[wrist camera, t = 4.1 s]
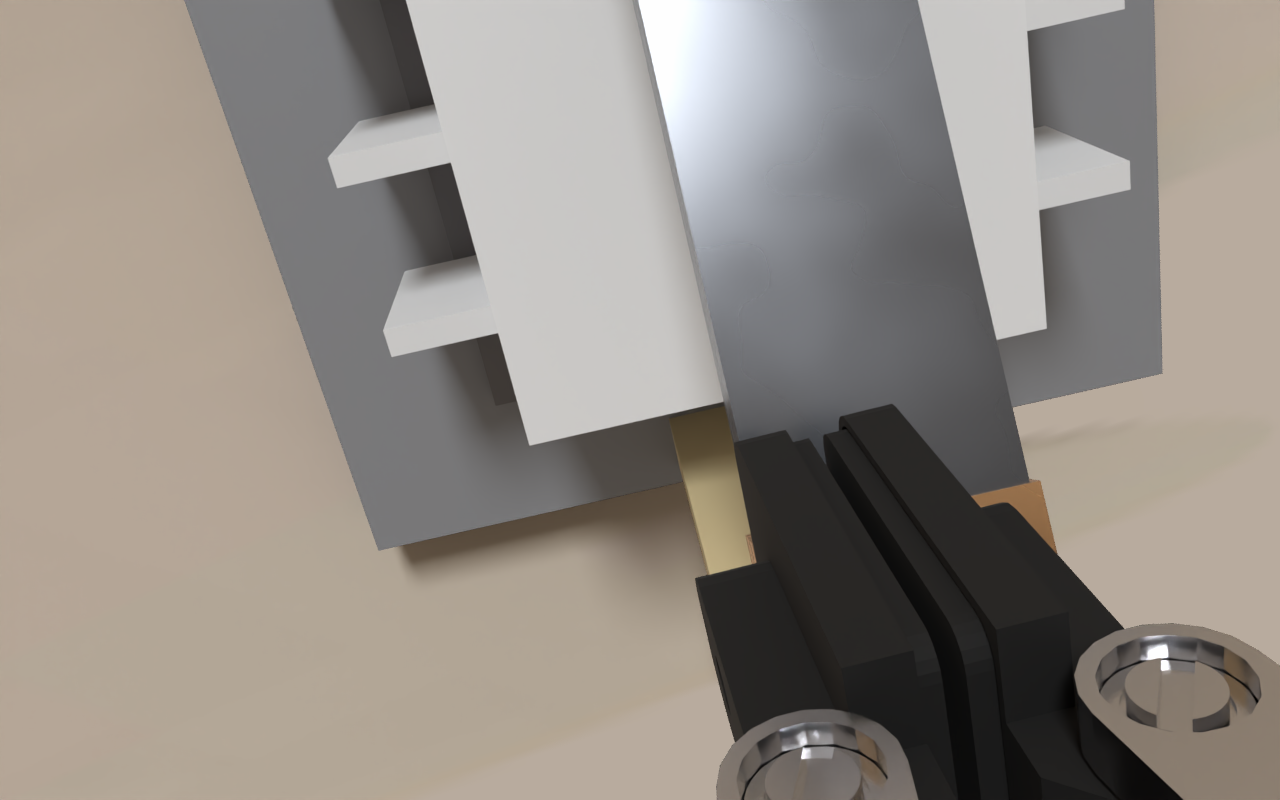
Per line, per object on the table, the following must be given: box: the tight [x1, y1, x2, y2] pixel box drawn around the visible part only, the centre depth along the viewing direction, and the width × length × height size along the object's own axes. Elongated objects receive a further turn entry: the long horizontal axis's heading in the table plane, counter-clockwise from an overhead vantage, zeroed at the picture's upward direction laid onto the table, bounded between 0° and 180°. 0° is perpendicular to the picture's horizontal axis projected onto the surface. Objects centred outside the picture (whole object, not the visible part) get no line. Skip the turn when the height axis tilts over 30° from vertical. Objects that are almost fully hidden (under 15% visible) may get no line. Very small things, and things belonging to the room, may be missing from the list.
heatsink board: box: [184, 0, 1162, 575], centre depth 19 cm, size 18×20×8 cm
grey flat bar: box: [632, 0, 1057, 564], centre depth 13 cm, size 16×4×2 cm, turn 10°
